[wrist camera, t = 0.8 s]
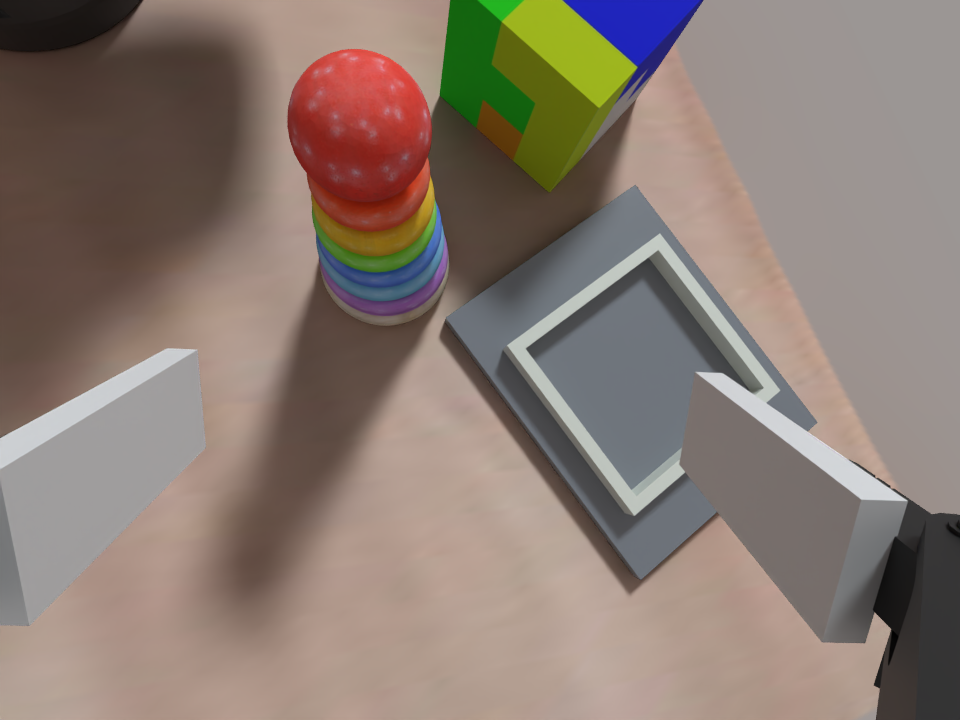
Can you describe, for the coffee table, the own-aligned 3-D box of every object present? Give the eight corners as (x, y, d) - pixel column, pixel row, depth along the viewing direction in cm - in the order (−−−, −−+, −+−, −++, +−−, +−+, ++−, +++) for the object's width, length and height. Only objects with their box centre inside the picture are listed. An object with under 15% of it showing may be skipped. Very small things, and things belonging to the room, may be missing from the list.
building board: (444, 321, 36) (447, 312, 34) (629, 191, 40) (644, 174, 37) (633, 576, 36) (651, 585, 33) (807, 423, 39) (834, 421, 36)
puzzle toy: (635, 99, 41) (709, -10, 31) (549, 193, 39) (599, 108, 29) (531, 7, 41) (573, -132, 31) (439, 96, 39) (452, -22, 29)
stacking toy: (401, 186, 37) (402, -63, 19) (471, 284, 37) (541, 126, 19) (296, 249, 36) (188, 43, 18) (369, 352, 36) (336, 252, 17)
